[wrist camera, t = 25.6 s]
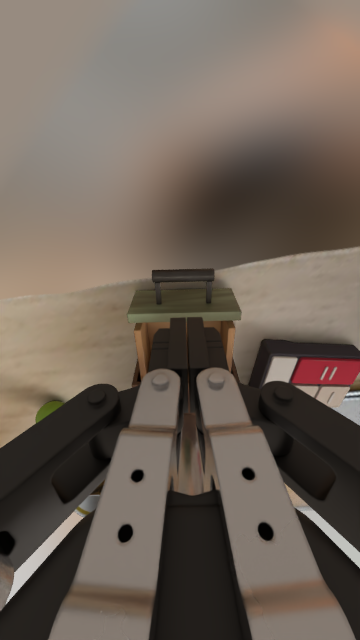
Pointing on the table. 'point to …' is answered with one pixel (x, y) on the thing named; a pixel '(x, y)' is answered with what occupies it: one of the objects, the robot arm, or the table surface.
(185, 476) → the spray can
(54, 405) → the snail figurine
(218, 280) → the table surface
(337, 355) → the calculator
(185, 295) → the drawer
